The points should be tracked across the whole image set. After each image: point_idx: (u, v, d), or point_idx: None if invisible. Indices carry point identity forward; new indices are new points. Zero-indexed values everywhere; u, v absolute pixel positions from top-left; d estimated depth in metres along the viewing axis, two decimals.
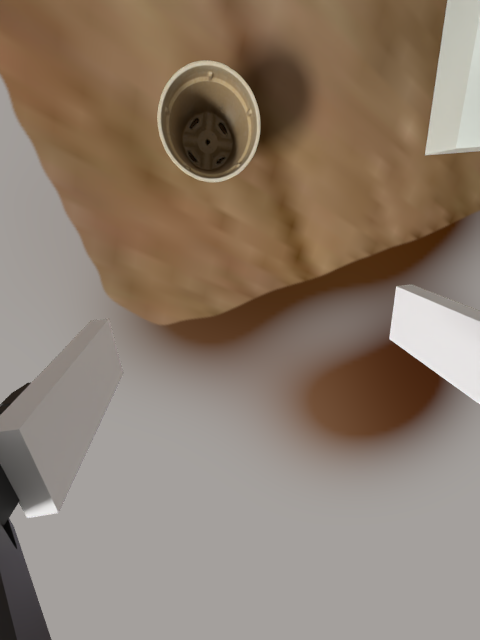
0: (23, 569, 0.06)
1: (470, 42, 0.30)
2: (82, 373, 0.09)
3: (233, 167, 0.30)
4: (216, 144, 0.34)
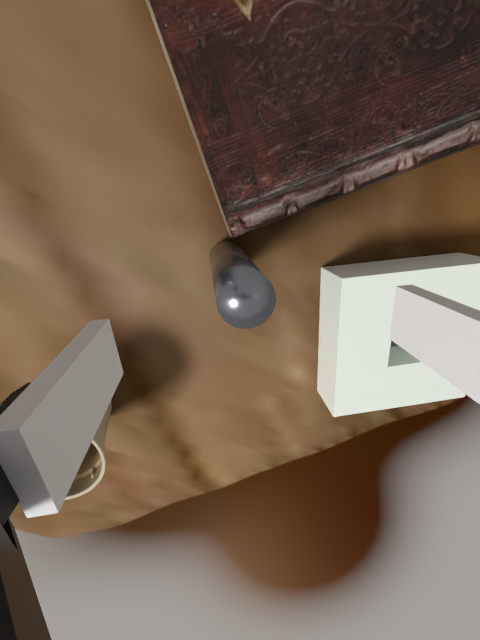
0: (23, 569, 0.06)
1: (335, 337, 0.29)
2: (82, 373, 0.09)
3: (90, 470, 0.29)
4: None
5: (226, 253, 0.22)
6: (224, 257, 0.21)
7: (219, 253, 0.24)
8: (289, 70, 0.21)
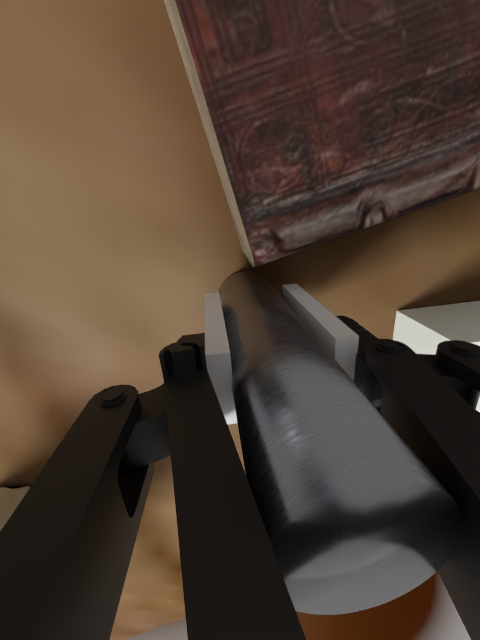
0: None
1: None
2: None
3: None
4: None
5: (258, 316, 0.10)
6: (256, 331, 0.09)
7: (240, 308, 0.12)
8: None
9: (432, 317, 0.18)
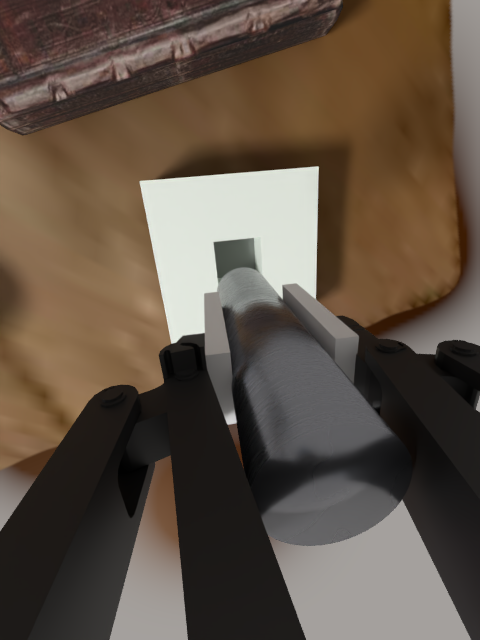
0: None
1: None
2: None
3: None
4: None
5: (252, 306, 0.11)
6: (250, 319, 0.10)
7: (236, 300, 0.13)
8: None
9: None
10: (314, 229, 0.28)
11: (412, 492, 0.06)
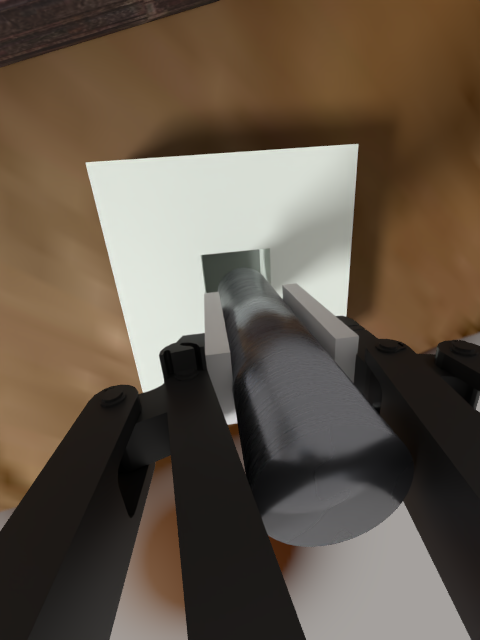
0: None
1: None
2: None
3: None
4: None
5: (253, 307, 0.11)
6: (251, 320, 0.10)
7: (237, 301, 0.13)
8: None
9: None
10: (347, 237, 0.20)
11: (412, 492, 0.06)
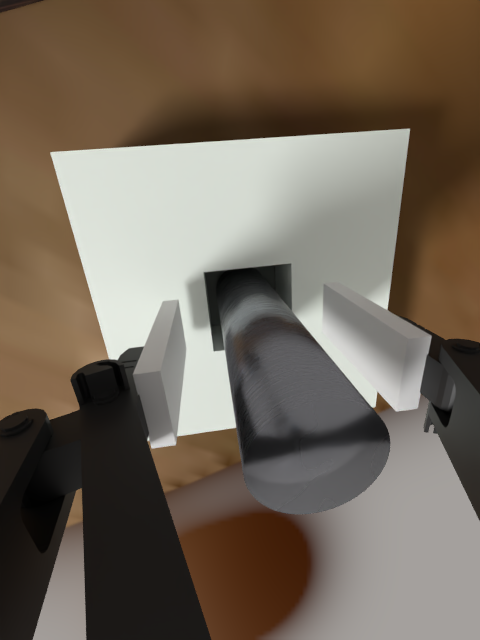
0: None
1: None
2: (173, 340, 0.11)
3: None
4: None
5: (249, 301, 0.12)
6: (247, 312, 0.11)
7: (234, 296, 0.14)
8: None
9: None
10: (390, 249, 0.15)
11: None
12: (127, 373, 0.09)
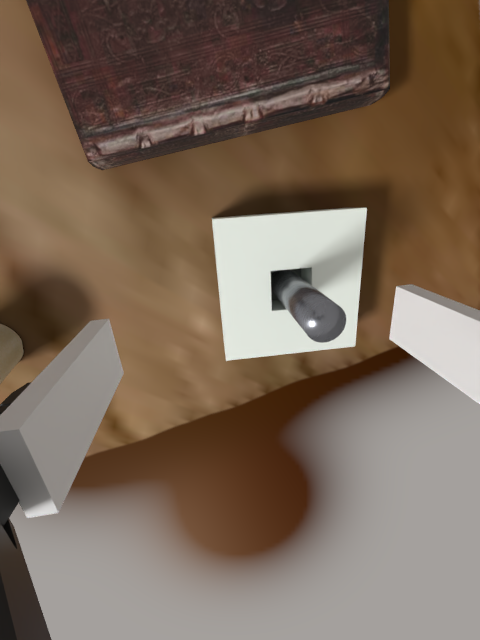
0: (23, 569, 0.06)
1: None
2: (82, 373, 0.09)
3: None
4: None
5: (295, 282, 0.29)
6: (296, 286, 0.28)
7: (286, 281, 0.30)
8: (133, 9, 0.23)
9: (223, 217, 0.32)
10: (359, 261, 0.32)
11: None
12: None
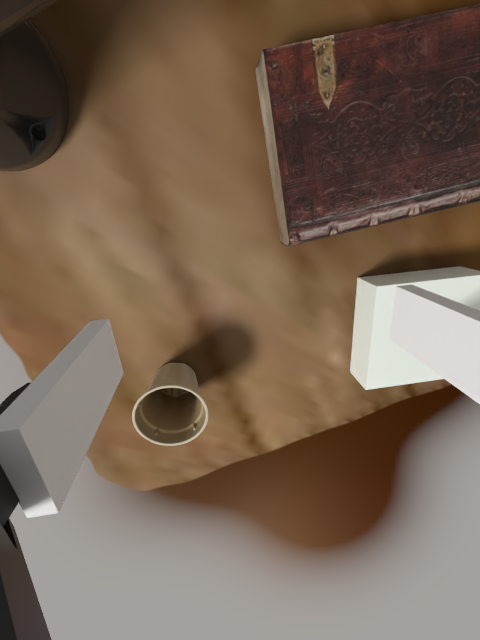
0: (23, 569, 0.06)
1: (369, 329, 0.40)
2: (82, 373, 0.09)
3: (191, 425, 0.40)
4: None
5: None
6: None
7: None
8: (347, 142, 0.31)
9: (372, 279, 0.40)
10: None
11: None
12: None
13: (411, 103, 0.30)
